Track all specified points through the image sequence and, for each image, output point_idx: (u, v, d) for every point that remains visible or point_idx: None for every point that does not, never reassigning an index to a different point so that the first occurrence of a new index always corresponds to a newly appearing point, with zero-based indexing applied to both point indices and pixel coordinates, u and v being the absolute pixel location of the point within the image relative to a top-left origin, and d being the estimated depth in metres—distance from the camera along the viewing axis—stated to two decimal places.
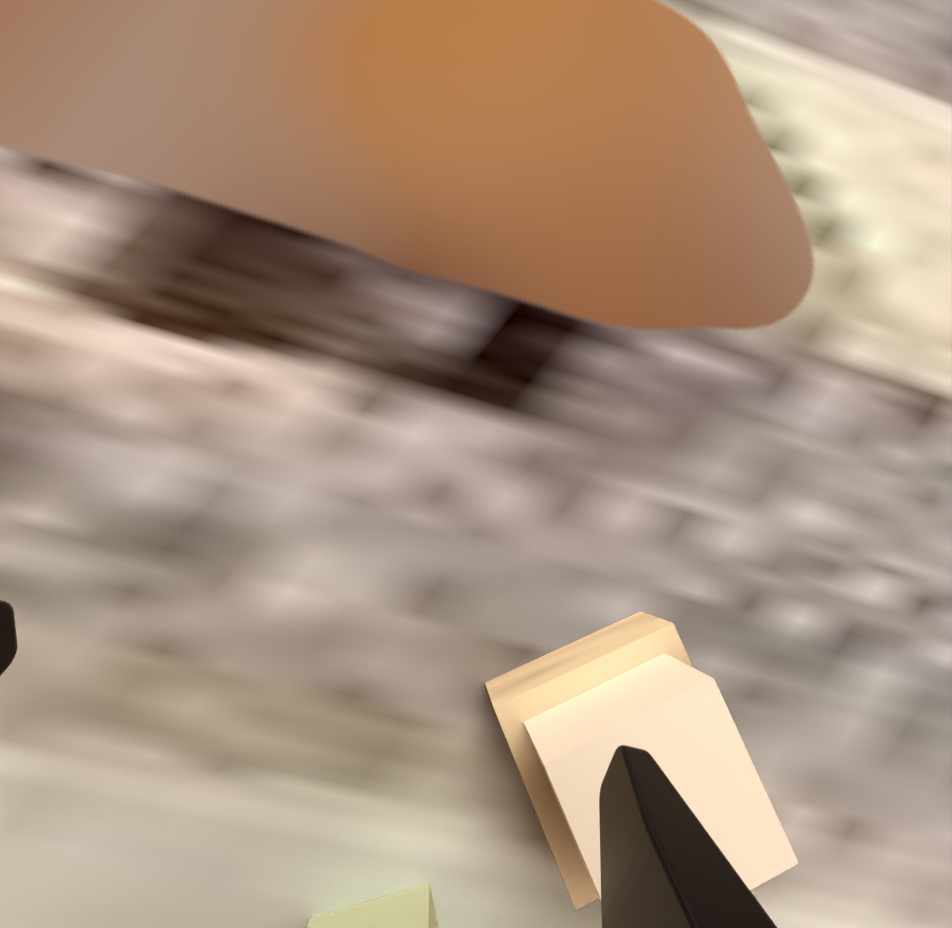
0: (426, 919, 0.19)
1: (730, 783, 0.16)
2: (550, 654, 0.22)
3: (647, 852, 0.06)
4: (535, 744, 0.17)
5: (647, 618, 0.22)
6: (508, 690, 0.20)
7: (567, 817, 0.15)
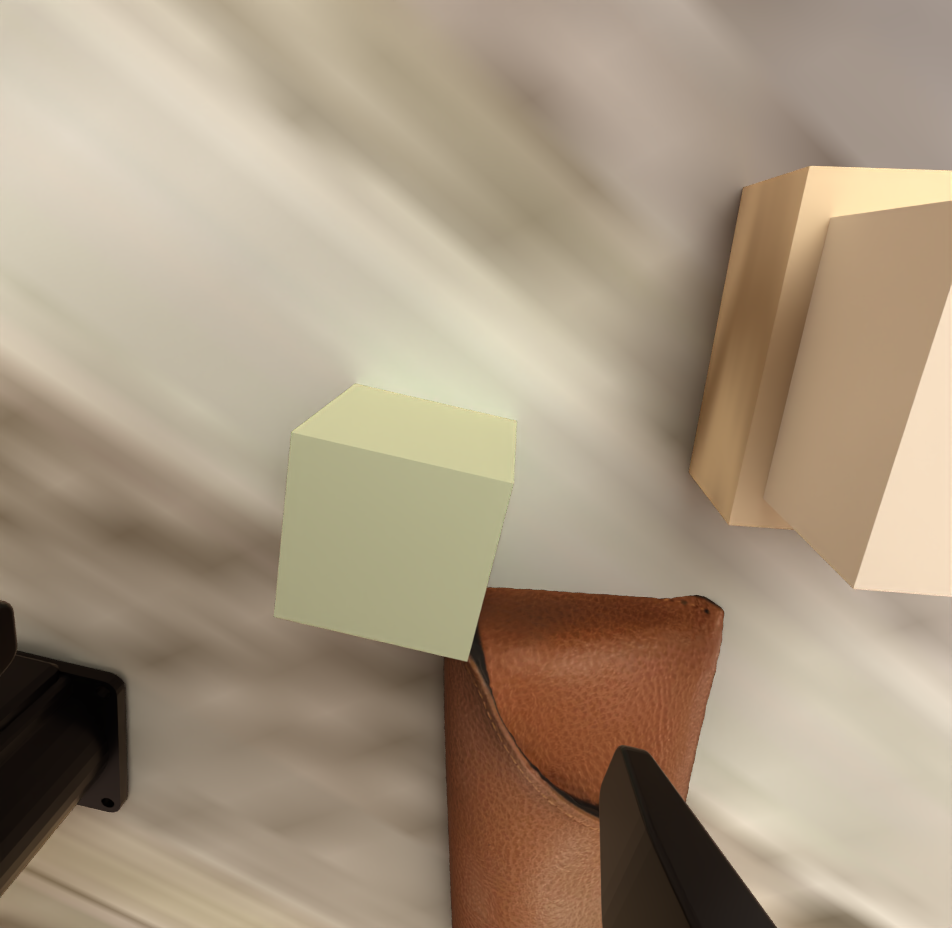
0: (512, 443, 0.13)
1: None
2: None
3: (647, 852, 0.06)
4: (906, 207, 0.08)
5: None
6: None
7: (939, 328, 0.07)
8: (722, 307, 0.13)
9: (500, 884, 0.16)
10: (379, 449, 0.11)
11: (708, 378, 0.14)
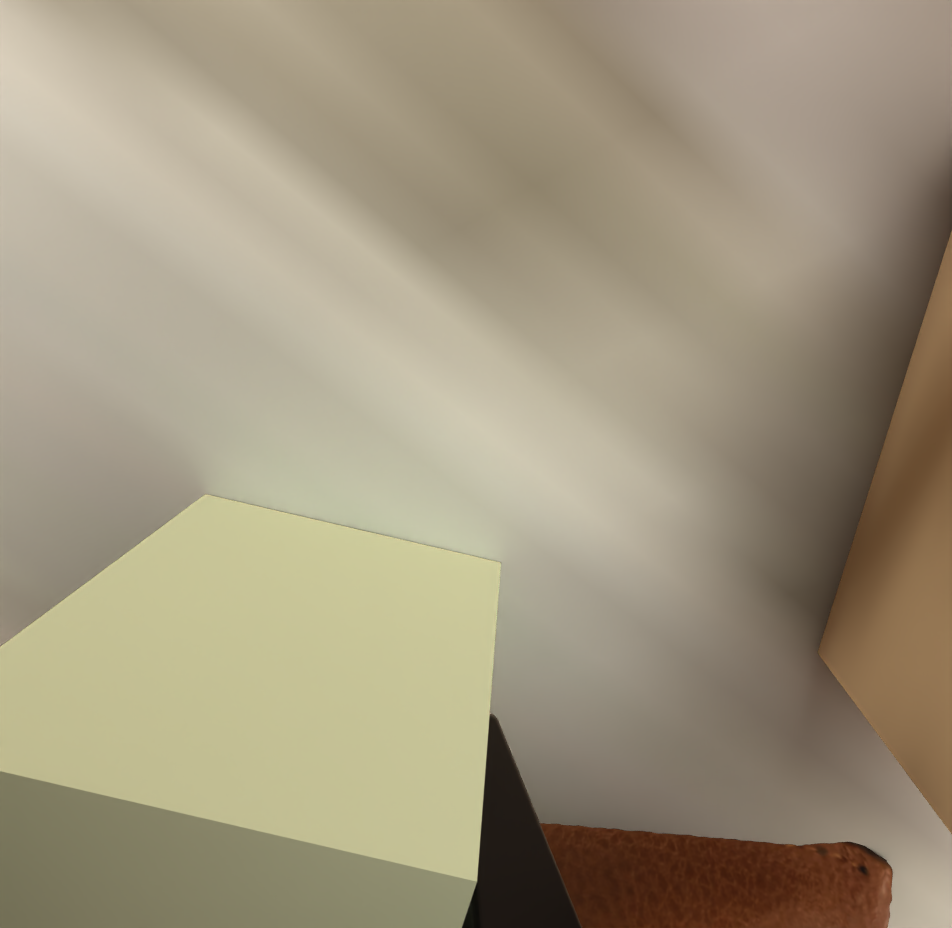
0: (488, 652, 0.06)
1: None
2: None
3: None
4: None
5: None
6: None
7: None
8: (917, 365, 0.07)
9: None
10: (124, 775, 0.04)
11: (873, 497, 0.07)
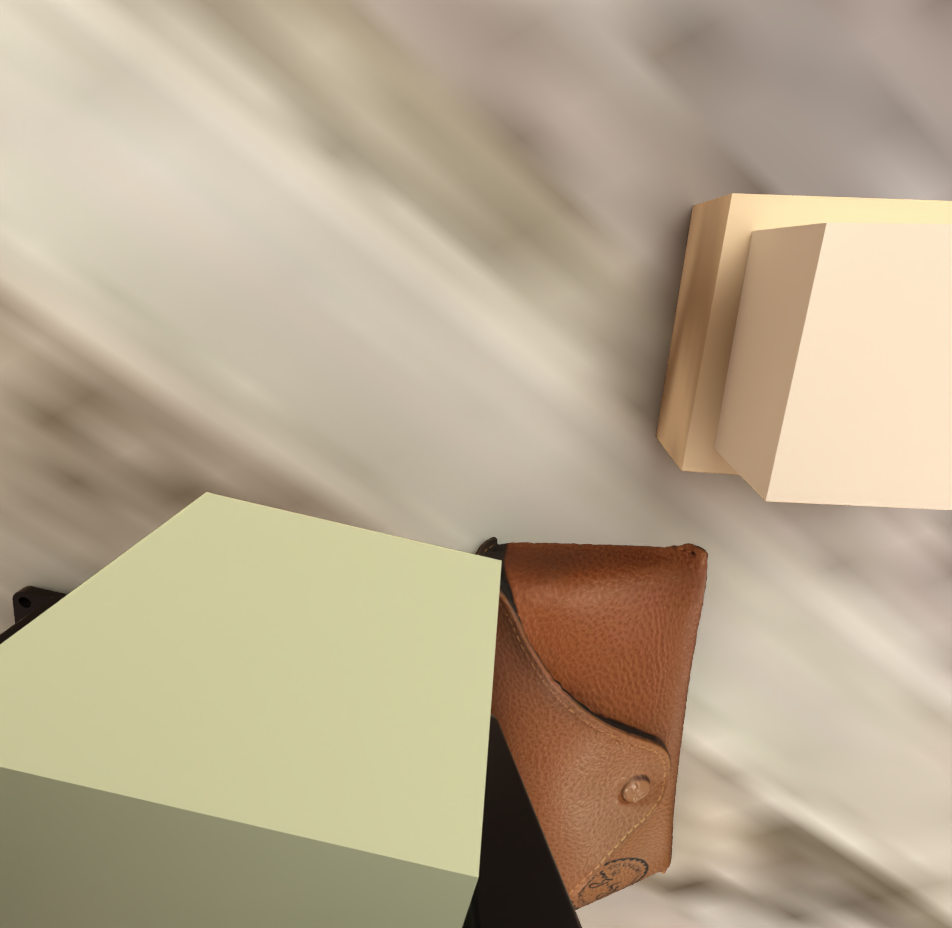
0: (489, 649, 0.06)
1: None
2: None
3: None
4: (792, 227, 0.11)
5: None
6: None
7: (808, 311, 0.11)
8: (679, 300, 0.17)
9: (531, 788, 0.20)
10: (125, 771, 0.04)
11: (669, 358, 0.17)
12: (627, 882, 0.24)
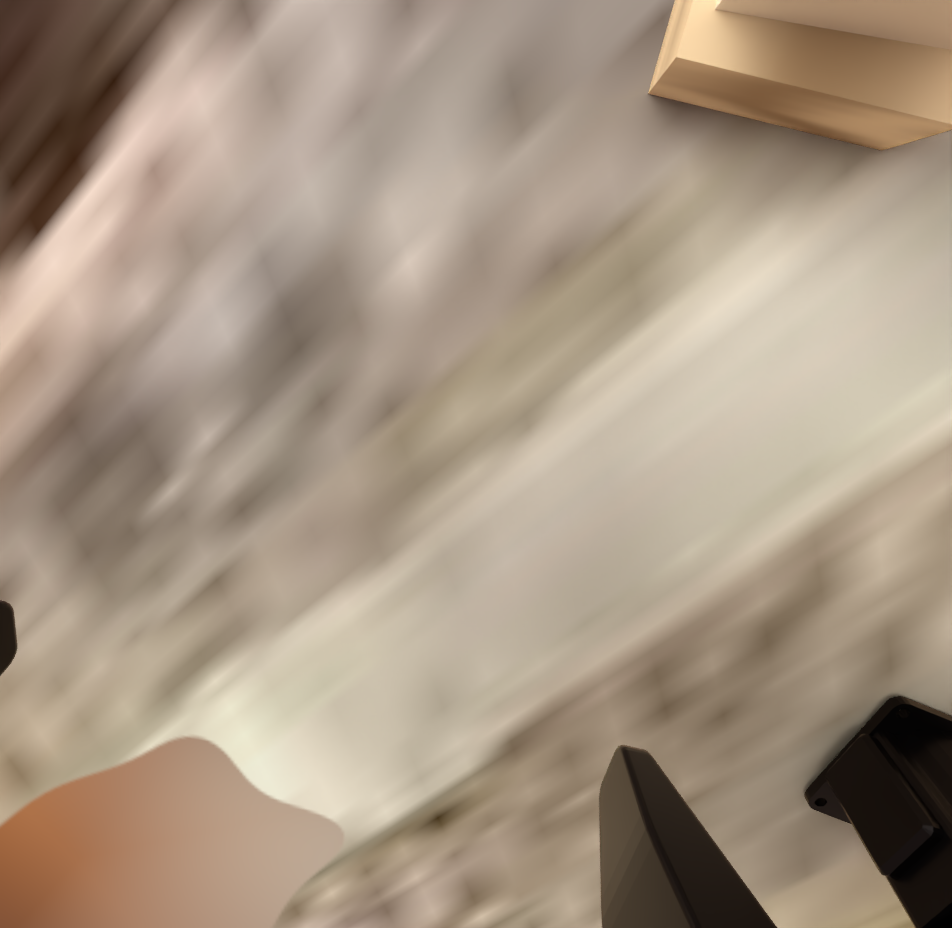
0: None
1: None
2: None
3: (647, 852, 0.06)
4: None
5: None
6: (675, 37, 0.14)
7: None
8: (738, 113, 0.16)
9: None
10: None
11: (796, 128, 0.16)
12: None
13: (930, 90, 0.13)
